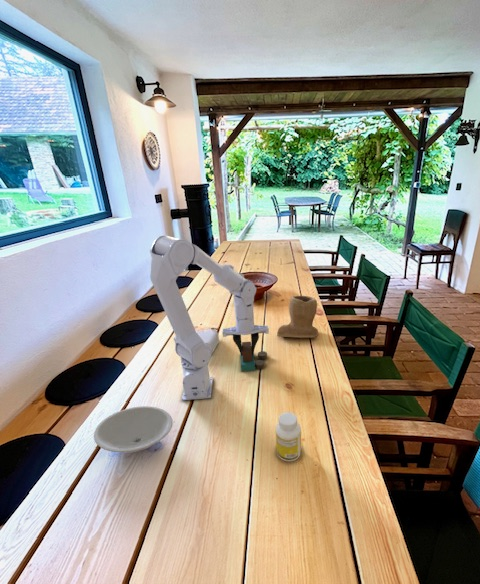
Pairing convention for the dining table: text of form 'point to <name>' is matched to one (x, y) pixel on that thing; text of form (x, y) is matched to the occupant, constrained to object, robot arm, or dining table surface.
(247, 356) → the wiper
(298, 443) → the supplement bottle
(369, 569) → the dining table surface
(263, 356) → the crumb
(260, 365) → the crumb
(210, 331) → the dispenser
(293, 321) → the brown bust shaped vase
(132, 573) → the dining table surface
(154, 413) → the dish
